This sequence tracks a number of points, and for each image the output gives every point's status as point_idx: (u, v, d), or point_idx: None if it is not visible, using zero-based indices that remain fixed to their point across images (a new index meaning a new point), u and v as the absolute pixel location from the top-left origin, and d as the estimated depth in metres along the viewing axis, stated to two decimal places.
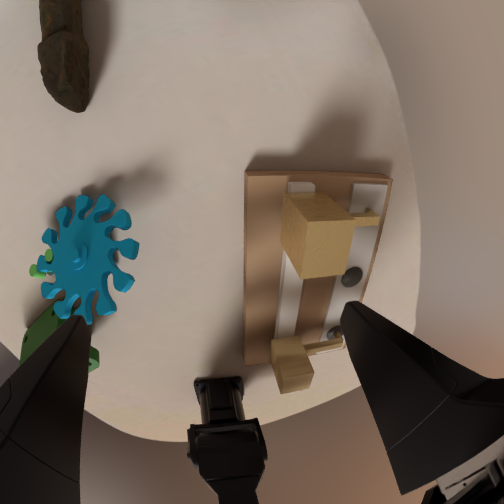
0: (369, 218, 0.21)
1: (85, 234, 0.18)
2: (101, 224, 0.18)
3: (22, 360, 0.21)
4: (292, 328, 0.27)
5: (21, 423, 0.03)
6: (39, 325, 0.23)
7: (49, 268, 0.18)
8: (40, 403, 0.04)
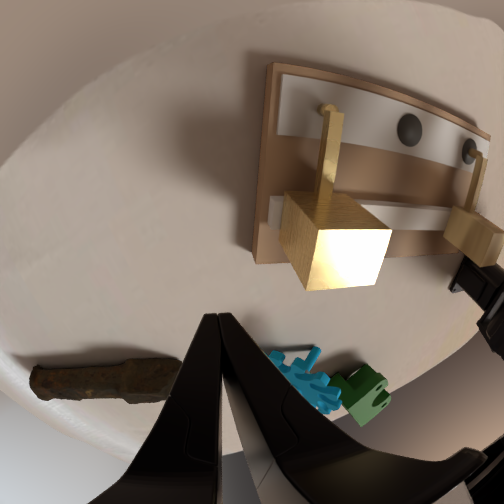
0: (330, 130, 0.13)
1: None
2: None
3: None
4: (441, 214, 0.19)
5: (218, 443, 0.04)
6: None
7: None
8: None
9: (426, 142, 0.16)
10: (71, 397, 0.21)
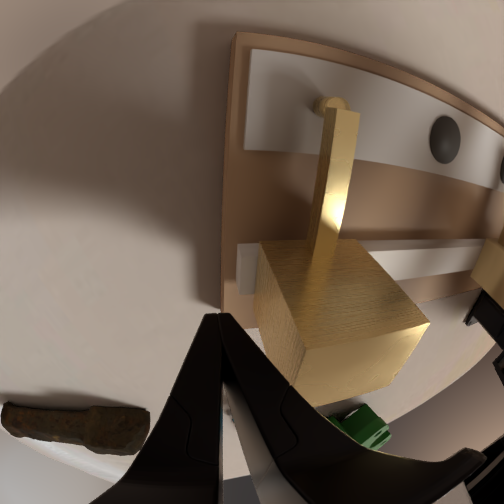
0: (336, 143, 0.07)
1: None
2: None
3: None
4: (473, 250, 0.13)
5: (219, 443, 0.04)
6: None
7: None
8: None
9: (464, 157, 0.11)
10: (41, 438, 0.16)
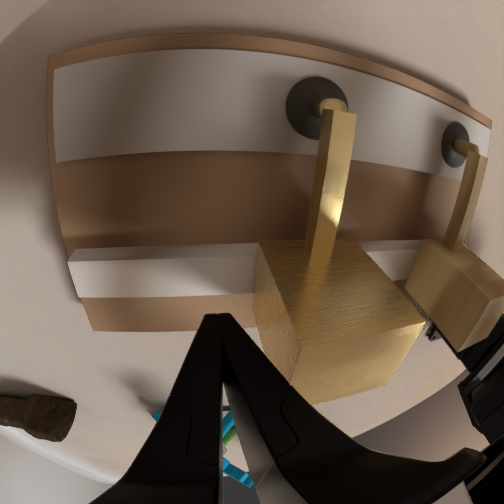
0: (333, 144, 0.08)
1: None
2: None
3: None
4: (400, 255, 0.12)
5: (219, 443, 0.04)
6: None
7: None
8: None
9: (361, 129, 0.09)
10: None
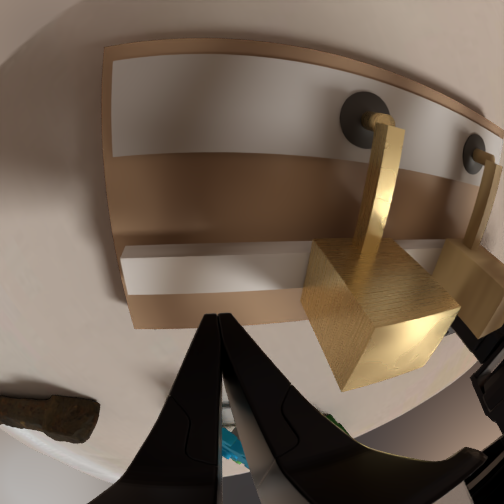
0: (386, 155, 0.08)
1: None
2: None
3: None
4: (426, 253, 0.13)
5: (218, 443, 0.04)
6: None
7: (235, 459, 0.20)
8: None
9: None
10: (12, 424, 0.16)
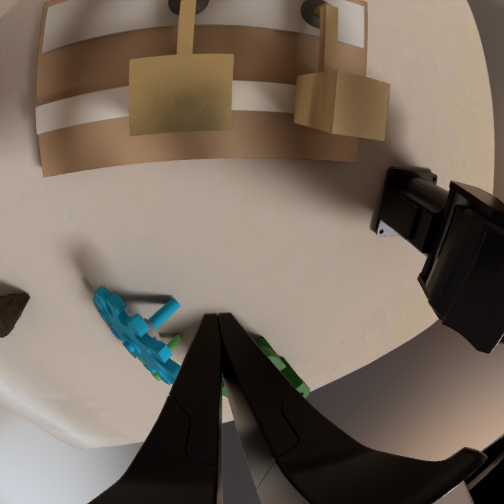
0: (183, 4, 0.09)
1: (117, 328, 0.20)
2: (107, 313, 0.19)
3: None
4: (275, 87, 0.14)
5: (218, 443, 0.04)
6: None
7: (148, 366, 0.21)
8: None
9: (221, 7, 0.11)
10: None
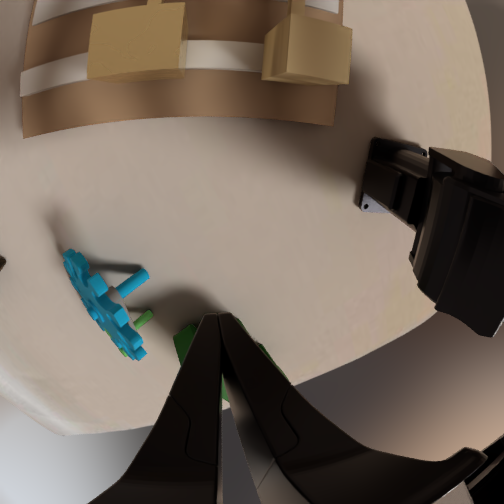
0: None
1: (84, 294, 0.19)
2: (74, 277, 0.18)
3: None
4: (242, 46, 0.13)
5: (218, 443, 0.04)
6: None
7: (114, 339, 0.20)
8: None
9: None
10: None
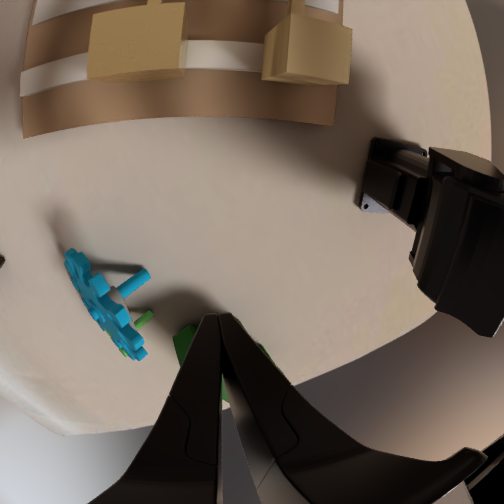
0: None
1: (85, 294, 0.19)
2: (75, 277, 0.18)
3: None
4: (242, 46, 0.13)
5: (218, 443, 0.04)
6: None
7: (114, 339, 0.20)
8: None
9: None
10: None
